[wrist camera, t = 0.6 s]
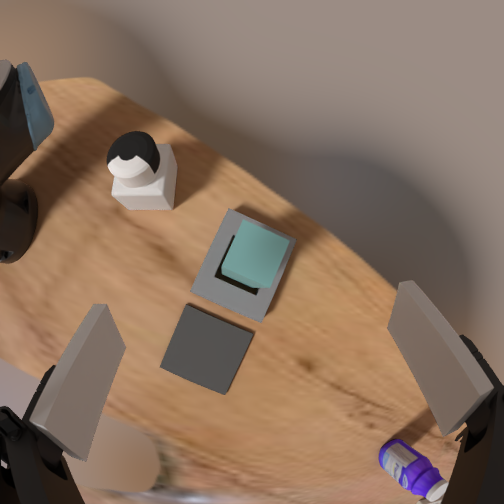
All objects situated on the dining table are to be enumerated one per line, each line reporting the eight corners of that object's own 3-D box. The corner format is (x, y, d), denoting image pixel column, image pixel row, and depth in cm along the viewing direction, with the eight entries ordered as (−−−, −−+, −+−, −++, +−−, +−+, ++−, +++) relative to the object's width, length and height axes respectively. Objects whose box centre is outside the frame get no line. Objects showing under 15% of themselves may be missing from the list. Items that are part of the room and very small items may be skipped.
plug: (222, 274, 37) (221, 266, 23) (235, 245, 38) (243, 219, 23) (251, 287, 38) (269, 288, 23) (264, 258, 38) (289, 240, 23)
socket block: (192, 291, 37) (190, 291, 34) (228, 213, 38) (228, 208, 36) (258, 320, 37) (261, 322, 35) (292, 242, 39) (296, 239, 36)
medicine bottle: (134, 166, 38) (107, 126, 26) (178, 165, 39) (164, 122, 27) (127, 210, 37) (94, 181, 25) (173, 210, 38) (154, 179, 26)
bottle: (375, 445, 36) (428, 491, 19) (400, 432, 37) (456, 470, 20) (377, 469, 35) (423, 513, 18) (400, 456, 36) (449, 494, 19)
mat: (160, 366, 35) (159, 367, 34) (186, 304, 36) (185, 304, 36) (224, 393, 35) (224, 395, 35) (252, 333, 37) (253, 334, 36)
